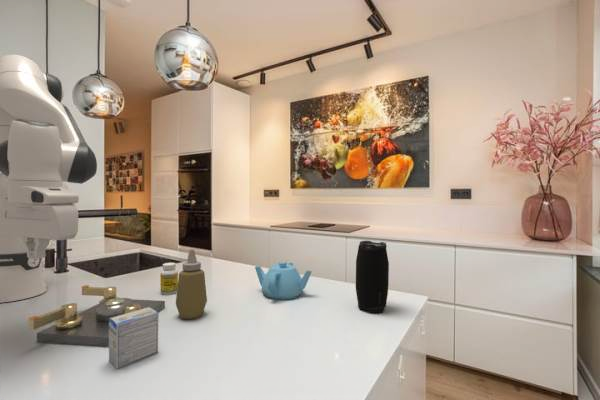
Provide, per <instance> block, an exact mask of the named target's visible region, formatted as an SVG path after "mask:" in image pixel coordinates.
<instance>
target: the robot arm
mask: <svg viewBox="0 0 600 400" xmlns="http://www.w3.org/2000/svg"><path fill="white" fill-rule="evenodd" d="M64 93H65V90H64V87H63V85H62V82H61V80H60V78H58V77H57V76H55V75H53V74H50V73H47V72H43V71H42V70H41V67H39V65H37V63H36V62H35V61H34V60H32V59H31V58H28V57H26V56H23V55H19V54H6V55H3V56H2V57H0V303H7V302H14V301H21V300H26V299H29V298H30V299H31V298H33V297H36V296H39V295H42V294H44V293H46V292H47V291H48V288H47V287H48V283H47V282H45V281H46V280H45V273H44V265H43V263H42V261H43V259H45V257H46V250H47V248H48V246H49V244H50V241H51V240H52V241H63V240H65V241H66V240H71V239H75V237H77V235H78V232H79V210H78V206H76V204H78V203H79V200H80V196H79V194H78V193H77V192H74V191H72V190H70V189H68V186H67V183H71V184H80V185H81V184H82V185H83V184H84V183H86V182H87V181H89V180H91V179H92V178H93V177H94V176H96V174H97V168H98V161H97V157H96V155H95V153H94V151H93V150H92V148H91V147H90V146H89V145H88V143H87V142H86V140H85V138H84V136H83V134H82V131H81V130H80V128H79V125H78V123H77V122H76V120H75V118H74V117H73V115H72V113H71V112H70V109H69V108H68V107H67V106H66V105H64V104H63V103H62V101H63V98H64V95H65V94H64ZM66 182H67V183H66Z"/></svg>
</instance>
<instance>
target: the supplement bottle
mask: <svg viewBox="0 0 600 400" xmlns="http://www.w3.org/2000/svg"><path fill="white" fill-rule="evenodd" d="M178 271H179V270H178V269H177V267H176V262H164V263H163V264H162V270H161V271H160V294H161V295H165V296H166V295H174V294H177V287H178V278H179V272H178Z"/></svg>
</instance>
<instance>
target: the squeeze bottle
mask: <svg viewBox="0 0 600 400" xmlns="http://www.w3.org/2000/svg"><path fill="white" fill-rule="evenodd" d="M201 265H202V263H201V261H197V256H196V252H195V249H194V248H191V249H189V252H188V254H187V259H186V261H185V262H182V270H181V271H180V272H178V287H177V292H176V298H175V306H176V308H177V312H178V314H179V317H180V318H181V319H185V320H190V319H191V320H192V319H196V318H200V317H202V315H203V314H204V311H205V309H206V305H207V302H208V297H207V286H206V277H205V275H206V274H205V271H204V270H203V269H202V266H201Z"/></svg>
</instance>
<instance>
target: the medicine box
mask: <svg viewBox="0 0 600 400" xmlns="http://www.w3.org/2000/svg"><path fill="white" fill-rule="evenodd" d="M159 313H160V312H156V311H155V310H153V309H151V308H149V307H148V308H144V309H141V310H137V311H133V312H130V313H126V314H123V315H119V316H116V317H113V318H110V319H109V347H108V360H109V361H110V363H111V365H113V366H114V368H115V369H117V370H118V369H120V368H122V367H125V366H127V365H129V364H132V363H134V362H137V361H140V360H141V359H143V358H144V359H145V358H147V357H149V356H152V355H154V354H156V353H158V352H159Z"/></svg>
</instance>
